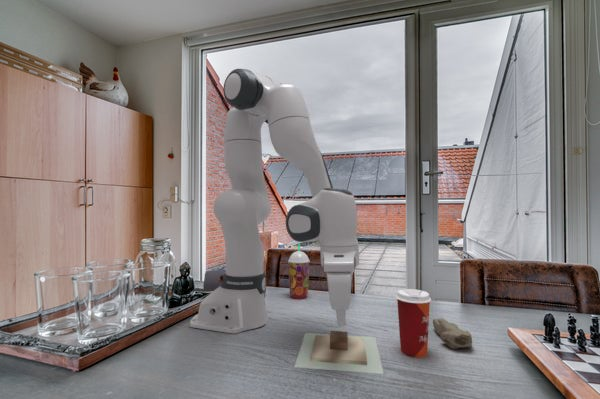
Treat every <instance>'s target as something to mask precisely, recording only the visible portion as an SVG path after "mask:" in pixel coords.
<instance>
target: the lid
mask: <svg viewBox="0 0 600 399" xmlns="http://www.w3.org/2000/svg"><path fill="white" fill-rule="evenodd" d="M348 334H349V332H348V331H342V330H341V331H339V330H331V331H330V336H322V335H315V340H314V344H313V348H312V352H311V356H310V361H316V362H329V363H343V364H357V365H367V357H366V350H365V343H364V338H355V337H348V336H349V335H348Z"/></svg>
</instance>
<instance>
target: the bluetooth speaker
mask: <svg viewBox="0 0 600 399" xmlns="http://www.w3.org/2000/svg"><path fill="white" fill-rule="evenodd" d="M224 272H226V269H218V270H217V269H215V270H208V271H205V273H204V280H203V292H204V291H214V290H215V289H217V288H218V287H219V286H220V281H219V282H217V281H218V280H219V279H218V278H219V277H220V276H221V275H223V273H224ZM264 273H265V292H264V294H265V293H266V291H267V270H264Z"/></svg>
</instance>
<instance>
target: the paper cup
mask: <svg viewBox="0 0 600 399" xmlns="http://www.w3.org/2000/svg"><path fill="white" fill-rule="evenodd" d="M395 298H396V299H397V300H396V302H397V312H398V313H397V316H398V328H399V330H398V332H399V342H400V343H399V344H400V351H401V353H402V355H405V356H406V357H407V356H408V357H410V358H415V359H417V358H418V359H419V358H425V357H427V356H428V346H429V345H428V340H429V325H430V324H429V322H430V306H431V301H432V298H431V297H430V294H429V292H427V291H425V290H420V289H416V288H415V289H413V288H403V289H399V290H398V291H397V294H396V296H395Z"/></svg>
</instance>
